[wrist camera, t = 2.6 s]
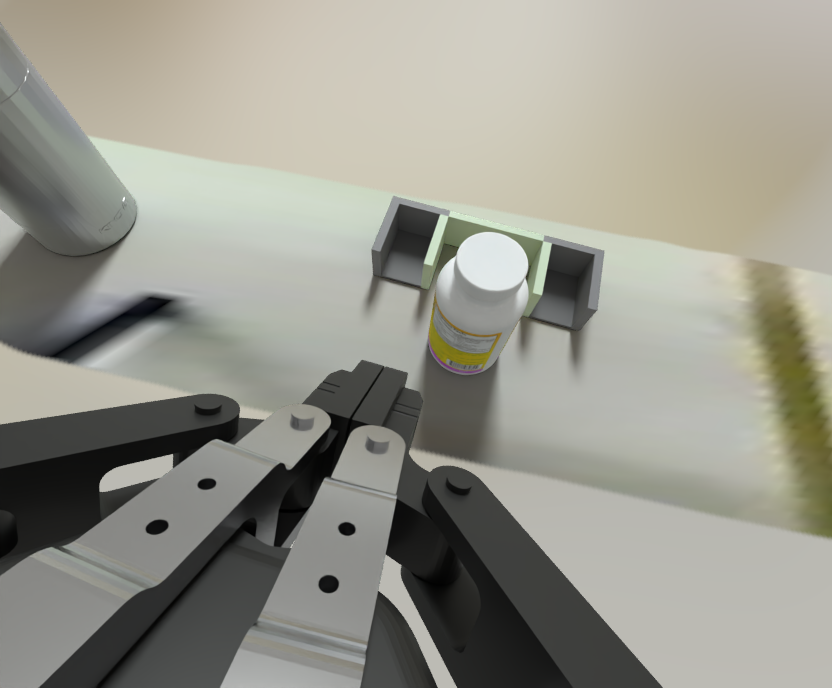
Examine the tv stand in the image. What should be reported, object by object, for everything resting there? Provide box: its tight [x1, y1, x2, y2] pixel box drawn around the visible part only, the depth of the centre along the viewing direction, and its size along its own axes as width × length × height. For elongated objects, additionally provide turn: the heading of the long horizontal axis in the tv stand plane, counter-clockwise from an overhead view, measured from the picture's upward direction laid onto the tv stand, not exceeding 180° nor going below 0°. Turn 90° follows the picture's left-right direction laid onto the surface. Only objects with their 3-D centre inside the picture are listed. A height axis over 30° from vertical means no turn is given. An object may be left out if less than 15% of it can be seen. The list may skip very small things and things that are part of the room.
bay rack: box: [372, 196, 604, 331], centre depth 40 cm, size 20×6×4 cm, turn 74°
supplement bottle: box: [428, 232, 529, 375], centre depth 33 cm, size 7×7×13 cm
